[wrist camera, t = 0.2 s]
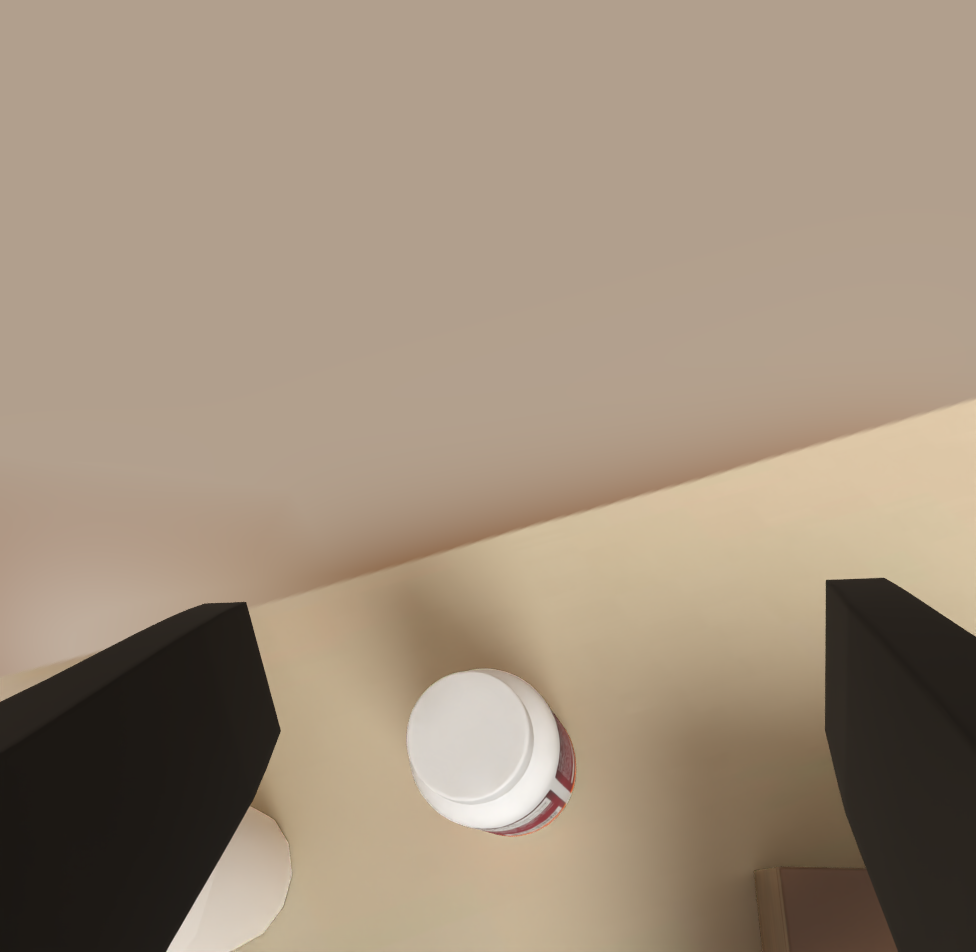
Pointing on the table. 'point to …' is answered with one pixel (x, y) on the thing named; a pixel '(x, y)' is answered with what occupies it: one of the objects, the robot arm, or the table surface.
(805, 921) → the cabinet
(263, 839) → the foam cup
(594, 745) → the table surface
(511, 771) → the pill bottle
